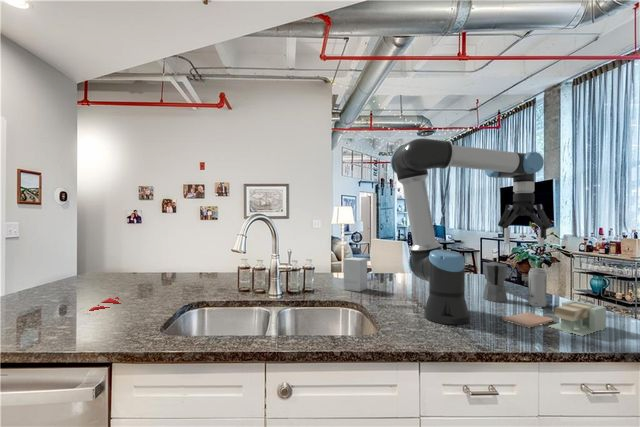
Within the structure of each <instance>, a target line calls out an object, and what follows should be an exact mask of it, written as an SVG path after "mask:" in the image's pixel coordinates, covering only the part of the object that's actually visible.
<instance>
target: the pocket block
mask: <svg viewBox="0 0 640 427" xmlns="http://www.w3.org/2000/svg"><path fill="white" fill-rule="evenodd" d="M573 303H578V304H583V305H588V306H592V307H593V308H590V309H589V317H587V318H584V319H580V320H576V321H569V320H565V319H561V318H560V322H557V323H554V324H551V325H548V328H549V327H551V328H550V329H552V328H555V329H554V330H556V329H559V330H562V331H561V332H563V331H566V332H569V333H568V334H570V333H573V334H572V335H574V334H576V335H575V336H577V335H580V336H579V337H581V336H582V337H585V336H588V335H591V334H590V333H592V334H594V333H593V332H595V333H597V332H596V331H598V332H600V331H599V330H601V331H603V330H602V329H604V330H606V329H607V307H606V306H603V305H597V304H593V303H592V304H591V303H587V302H583V301H578V300H569V301H565V302H561V306H564V305H569V304H573ZM605 328H606V329H605ZM559 330H558V331H559ZM566 332H565V333H566ZM587 334H588V335H587ZM584 335H585V336H584Z"/></svg>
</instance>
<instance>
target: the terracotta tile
mask: <svg viewBox="0 0 640 427" xmlns="http://www.w3.org/2000/svg"><path fill="white" fill-rule="evenodd" d="M503 320H506V321H510V322H513V323H517V324H520V325H523V326H527V327H533V326H536V327H538V326H537V325H540V324H544V323H548V322H552V321H554V322H555V320H554V318H550V317H547V316H545V315H540V314H536V313H531V312H528V311H527V312H522V313H518V314H513V315H509V316H504V317H502V321H503ZM506 321H505V322H506ZM513 323H512V324H513ZM552 323H553V322H552ZM548 324H549V323H548ZM544 325H545V324H544ZM523 326H522V327H523ZM540 326H541V325H540ZM533 328H534V327H533Z"/></svg>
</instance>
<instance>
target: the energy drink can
mask: <svg viewBox="0 0 640 427" xmlns="http://www.w3.org/2000/svg"><path fill="white" fill-rule="evenodd" d="M527 295H528V298H527V299H528V304H529V306H530V305H531V306H534V307H533V308H535V307H545V308H546V306H547V272H546V269H545V268H542V267H530V268H529V271H528V294H527ZM531 306H530V307H531Z"/></svg>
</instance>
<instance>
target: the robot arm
mask: <svg viewBox="0 0 640 427" xmlns="http://www.w3.org/2000/svg"><path fill="white" fill-rule="evenodd" d="M544 163H545V162H544V156H542V154H541V153H539V152H537V151H529V152H528V151H527V152H515V151H513V152H512V151H507V150H497V149H488V148H481V147H474V146H473V147H472V146H466V145H465V146H463V145H457V144H452V142H451V141H448V140H441V139H431V138H416V139H413V140H412V139H411V141H408V142H407V143H404V144H401V145H400V146H399V147H397V149H395V150H394V151H393V153H392V155H391V157H390V167H391V169H392V171H394V173H395V174H396V177H397V182H399V183H400V184H401V185H402V189H403V194H404V199H405V205H406V211H407V215H408V222H409V228H410V233H411V238H412V245H411V246H410V248H409V251H410V256H409V259H408V266H409V269H410V272H412V274H413V275H414V276H416V277H417V278H419V280H422V281H426V282H428V286H429V287H428V289H429V290H428V291H429V292H428V294H429V295H428V298H427V299H426V304H425V307H424V309H423V317H424V318H425V319H426V320H429V321H430V322H434V323H438V324H444V325H465V324H467V323H469V322H470V321H471V314H470V312H469V308H468V304H467V302H466V299H465V271H466V270H465V268H466V263H465V257H464V255H463V254H462V253H460V252H458V251H454V250H449V249H442V245H441V243H439V242H438V241H437V239H436V234H435V229H434V224H433V218H432V212H431V207H430V201H429V195H428V189H427V184H426V179H427V178H428V176H429V173H428V170H431V169H444V170H445V169H447V168H448V167H453V168H463V169H472V170H482V171H484V172H485V175H486V176H487V177H489V178H494V179H498V178H499V179H502V178H503V179H504V178H505V179H512V185H513V188H512V192H513V194H512V203H513V204H512V205H511V204H506V205H505V208H504V211H503V213H502V215H501V217H500V220H499V221H498V224H497V226H498V227H500V228H502V236H504V237H503V243H504V244H510V242H511V240H510V239H511V238H510V237H511V235H510V231H511V228H510V227H509V226H510V225H511V224H512V223H513V222H514V221H515V219H516V218H517V217H519V216H525V217H526V216H529V217H530V219H531V220H532V221H533V222H534V223H535V224H536V225H537V227H538V228H539V229H537V247H544V246H545V245H544V244H545V240H544V239H545V238H546V237H547V229H551V228H552V227H553V225H552V223H551V221H550V220H549V218H548V216H547V215H546V212H545V211H544V205H543V204H542V203H540V204H539V203H537V204H535V193H534V192H535V180H536V179H535V174H536V173H537V172H538V173H539V172H540V171H541V170H542V169H543V167H544ZM512 210H513V211H512ZM534 210H536V211H537V214H538V215H537V214H536V213H535V211H534ZM511 211H512V213H511ZM538 216H539V217H540V218H539V217H538Z"/></svg>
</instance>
